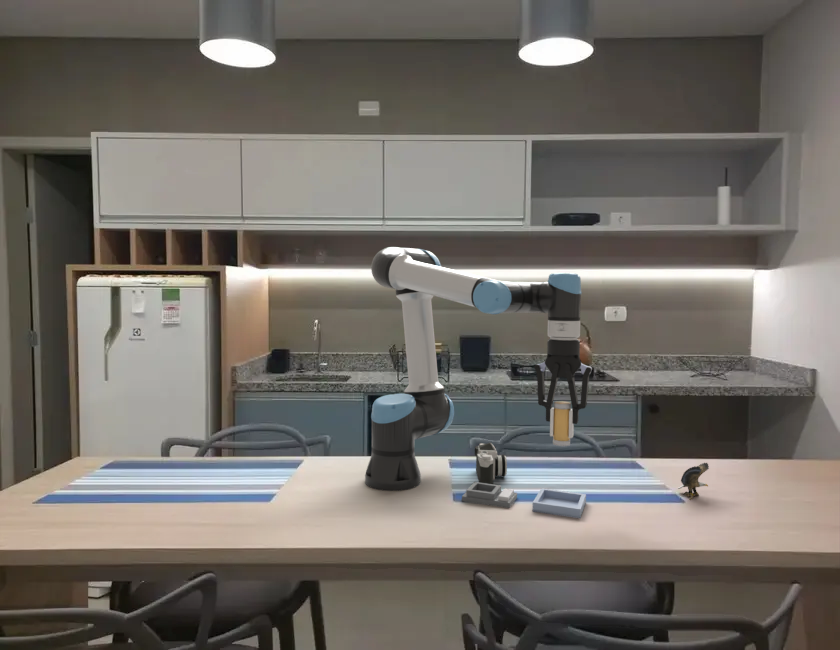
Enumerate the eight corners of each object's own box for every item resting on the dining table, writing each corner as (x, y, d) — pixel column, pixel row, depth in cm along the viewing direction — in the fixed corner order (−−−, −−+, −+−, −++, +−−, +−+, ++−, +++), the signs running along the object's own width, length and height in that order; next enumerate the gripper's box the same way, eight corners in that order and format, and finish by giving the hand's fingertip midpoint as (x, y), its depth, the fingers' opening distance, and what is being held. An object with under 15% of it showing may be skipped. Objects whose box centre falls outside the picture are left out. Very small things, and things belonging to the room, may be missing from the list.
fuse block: (461, 502, 145) (461, 490, 145) (471, 492, 152) (471, 480, 152) (509, 509, 140) (509, 497, 140) (516, 498, 148) (517, 486, 148)
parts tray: (532, 512, 138) (532, 502, 138) (541, 497, 149) (541, 488, 148) (580, 520, 134) (580, 509, 134) (585, 504, 144) (586, 494, 144)
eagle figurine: (707, 503, 146) (708, 468, 145) (675, 498, 149) (677, 463, 149) (708, 494, 152) (709, 460, 152) (678, 489, 156) (679, 456, 155)
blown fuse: (551, 445, 139) (552, 403, 139) (554, 441, 143) (555, 400, 143) (568, 446, 138) (569, 404, 137) (571, 443, 142) (572, 402, 141)
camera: (510, 488, 156) (510, 451, 155) (477, 488, 156) (478, 451, 155) (502, 470, 172) (503, 436, 171) (473, 470, 172) (473, 436, 171)
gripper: (525, 338, 139) (523, 436, 140) (598, 340, 133) (596, 443, 134) (531, 336, 146) (530, 429, 147) (601, 338, 139) (599, 435, 141)
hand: (561, 435), depth 140 cm, fingers closed on blown fuse, 4 cm apart
